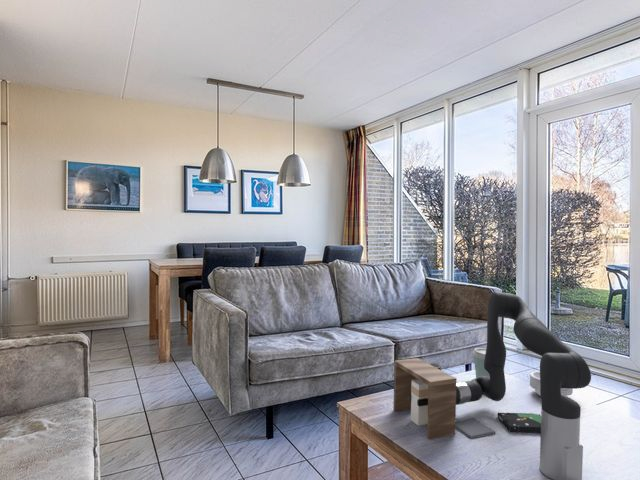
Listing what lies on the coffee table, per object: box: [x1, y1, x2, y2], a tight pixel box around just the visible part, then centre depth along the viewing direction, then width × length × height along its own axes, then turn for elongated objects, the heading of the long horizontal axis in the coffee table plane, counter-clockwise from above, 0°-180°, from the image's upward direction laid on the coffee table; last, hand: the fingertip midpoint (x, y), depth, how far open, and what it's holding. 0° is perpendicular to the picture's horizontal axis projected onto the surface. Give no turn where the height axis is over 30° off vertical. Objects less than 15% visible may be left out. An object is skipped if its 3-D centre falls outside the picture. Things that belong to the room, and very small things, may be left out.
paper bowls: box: [529, 370, 574, 397], centre depth 165 cm, size 15×15×8 cm
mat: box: [455, 417, 496, 439], centre depth 136 cm, size 10×10×1 cm
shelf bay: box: [392, 357, 458, 440], centre depth 141 cm, size 22×10×18 cm, turn 21°
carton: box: [410, 379, 428, 427], centre depth 141 cm, size 5×5×14 cm
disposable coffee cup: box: [472, 347, 490, 378], centre depth 176 cm, size 11×11×15 cm
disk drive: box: [497, 412, 541, 434], centre depth 139 cm, size 10×3×15 cm
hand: (413, 400), depth 140 cm, fingers closed on carton, 4 cm apart
